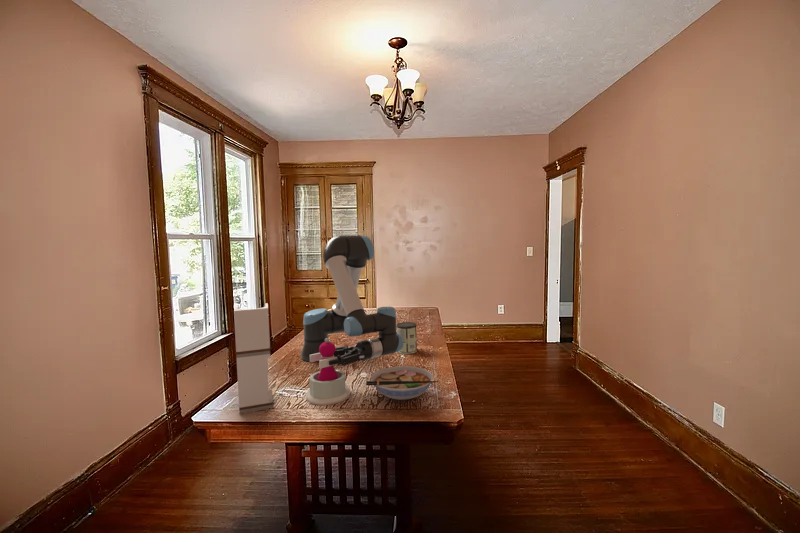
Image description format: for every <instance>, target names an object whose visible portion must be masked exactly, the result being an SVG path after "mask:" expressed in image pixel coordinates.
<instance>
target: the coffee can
mask: <svg viewBox="0 0 800 533" xmlns="http://www.w3.org/2000/svg"><path fill="white" fill-rule="evenodd" d="M417 325H418V324H417V323H416V322H412V321H403V322H398V323H396V332H397V334H399V335H400V336H401V337H402V340H403V348H402V349H401V350H400V351H398V352H397V353H399V354H402V355H410V354H415V353H416V352H418V341H417V339H418V338H417V335H418V334H417Z"/></svg>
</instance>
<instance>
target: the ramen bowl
mask: <svg viewBox="0 0 800 533" xmlns="http://www.w3.org/2000/svg"><path fill="white" fill-rule="evenodd" d="M370 379H371V380H367V381H365V386H366V387H367V386H374V388H376V390H377V391H378V392H379V393H380V394H381V395H383V396H384V397H386V398H390V399H393V400H397V401H408V400H411V399H414V398H417V397H419V396H421V395H423V393H425V392H426V391H427V390H428V388H430V386H431V385H432V383H439V380H434V375H433V374H432V372H431V371H429V370H427V369H425V368H422V367H417V366H412V365H411V366H408V365H398V366H390V367H386V368H382V369H379V370H377V371H375V372H374V373H373V374H372V375H371V377H370ZM433 380H434V381H433Z"/></svg>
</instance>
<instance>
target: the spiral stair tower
mask: <svg viewBox="0 0 800 533" xmlns="http://www.w3.org/2000/svg"><path fill="white" fill-rule="evenodd" d="M264 304H265V306H263V307H262V306H261V307H259V308H257V307H256V308H249V309H247V308H246V309H245V308H243V309H240V305H235V308H234V310H233V317H234V318H233V319H234V320H233V321H234V335H235V339H234V340H235V356H236V374H237V391H238V409H239V413H238V414H240V413H241V414H245V413H246V412H247V413H252V411H253V412H257V411H258V410H259V411H263V410H269V408H270V409H273V408H274V403H273V402H274V401H273V390H272V389H269V377H268V376H269V374H268V372H269V359H270V358H271V341H270V337H271V336H270V325H269V324H270V322H269V321H270V319H269V318H270V317H269V304H268V302H267V303H264ZM259 411H258V412H259Z"/></svg>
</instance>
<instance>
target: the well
mask: <svg viewBox="0 0 800 533" xmlns="http://www.w3.org/2000/svg"><path fill="white" fill-rule="evenodd" d="M320 371H321V370H319V371H316V372H314V373H313V374H311V375H310V376H309V380H308V382H309V389H308V390H307V391H306V394H305V396H306V397H305V398H306V401H307V402H308V403H309V402H310V403H309V404H311V403H312V405H316V406H331V405H335V404H339V403H342V402H344V401H346V400H347V399H348V398H349V397H350V395H351V389H350V387H349V386H348V385H347V384H346V372H344V371H343V370H339V369H335V371H336V373H337V376H338V379H336V380H332V381H318V377H319V374H320Z"/></svg>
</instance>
